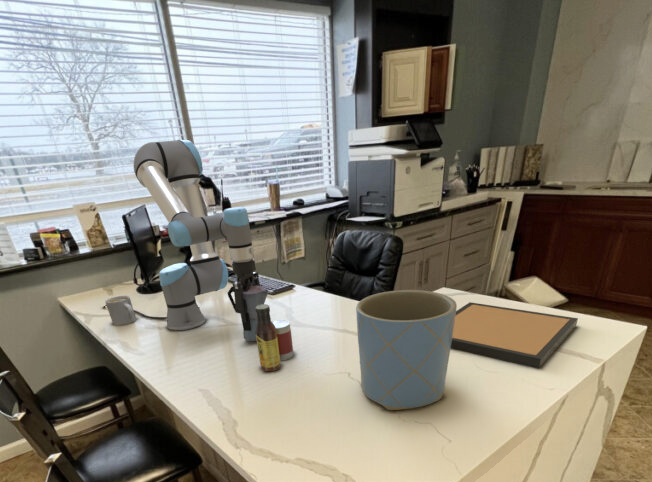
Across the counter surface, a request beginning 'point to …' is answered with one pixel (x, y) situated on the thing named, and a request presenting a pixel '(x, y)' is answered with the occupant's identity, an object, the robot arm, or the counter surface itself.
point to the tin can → (284, 339)
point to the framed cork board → (509, 333)
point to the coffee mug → (120, 310)
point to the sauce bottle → (267, 339)
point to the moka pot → (251, 306)
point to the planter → (405, 346)
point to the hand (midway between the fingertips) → (253, 325)
